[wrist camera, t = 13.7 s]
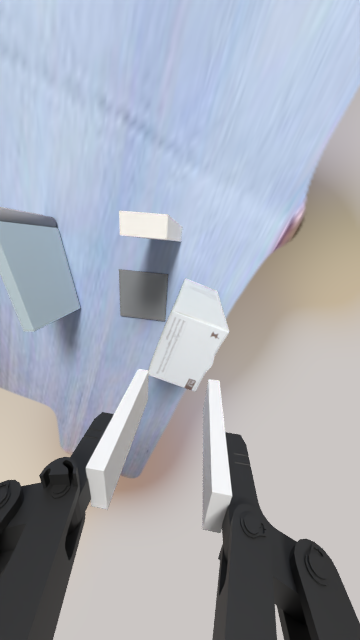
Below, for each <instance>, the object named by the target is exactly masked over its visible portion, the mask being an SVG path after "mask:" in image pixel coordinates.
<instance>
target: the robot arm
mask: <svg viewBox="0 0 360 640" xmlns="http://www.w3.org/2000/svg"><path fill="white" fill-rule="evenodd" d="M148 374H149V370H142V369H138V370H137V372H136V374H135V376H134V378H133V380H132V382H131V384H130V385H129V387H128V389H127V391H126V393H125V395H124V397H123V398H122V400H121V402H120V404H119V406H118V408H117V410H116V412H115V413H114V414H110V413H104V412H102V413H101V414H100V415H99V416H98V417H96V418H95V419H94V421H93V422H92V424H91V425H90V427H89V429H88V430H87V432H86V433H85V435H84V437H83V438H82V440H81V441H80V443H79V444H78V446H77V447H76V449H75V451H74V452H73V454H72V455H71V457H63V458H59V459H57V460H55V461H53V462H51V463H50V464H49V465H48V466H46V467H45V468H44V470H43V471H42V473H41V474H40V475H39V476H40V479H41V483H37V484H31V485H26V486H21V485H20V483H19V482H17V481H16V480H7V481H4V482H2V483H0V640H53V637H54V633H55V629H56V625H57V622H58V618H59V614H60V610H61V607H62V603H63V600H64V596H65V592H66V588H67V585H68V581H69V577H70V574H71V570H72V566H73V562H74V558H75V555H76V551H77V547H78V544H79V540H80V536H81V533H82V529H83V525H84V522H85V510H86V509H87V506H88V504H89V502H90V500H91V506H93V507H98V508H102V509H108V507H109V504H110V502H111V499H112V496H113V493H114V491H115V488H116V485H117V482H118V479H119V477H120V474H121V472H122V469H123V466H124V463H125V461H126V458H127V455H128V452H129V450H130V447H131V444H132V442H133V439H134V436H135V433H136V431H137V428H138V425H139V422H140V420H141V417H142V414H143V411H144V409H145V406H146V403H147V401H148ZM221 529H222V533H223V545H222V548H221V551H220V554H219V558H218V559H219V560H220V569H219V580H218V591H217V600H216V610H215V621H214V630H213V640H277V635H276V621H275V605H274V604H276V605H277V608H278V613H279V617H280V622H281V627H282V631H283V636H284V640H360V623H359V621H358V619H357V616H356V614H355V611H354V609H353V607H352V604H351V602H350V600H349V597H348V595H347V592H346V590H345V588H344V585H343V583H342V581H341V578H340V576H339V574H338V572H337V569H336V567H335V566H334V564H333V562H332V560H331V559H330V557H329V556H328V555H327V554H326V552H325V551H324V550H323V549H322V548H321V547H320V546H319V545H317V544H316V543H315V542H313V541H311V540H308V539H300V540H299V541H298V542H296V541H294V540H293V539H291V538H290V537H288V536H286V535H285V534H283V533H282V532H280V531H278V530H277V529H276V528H274V527H273V526H272V525H271V524H270V523H269V522H268V521H267V519H266V518H265V516H264V515H263V513H262V511H261V509H260V506H259V503H258V499H257V494H256V490H255V486H254V480H253V475H252V471H251V467H250V461H249V457H248V452H247V447H246V444H245V442H244V440H243V439H242V437H241V435H238V434H232V433H226V432H225V426H224V417H223V408H222V399H221V390H220V382H219V381H217V380H210V379H209V380H208V385H207V391H206V397H205V402H204V408H203V530H208V531H213V532H217V533H220V532H221Z"/></svg>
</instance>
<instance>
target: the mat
mask: <svg viewBox="0 0 360 640" xmlns="http://www.w3.org/2000/svg"><path fill="white" fill-rule="evenodd" d="M167 282H168V274H159V273H149V272H140V271H130V270H121V269H119V283H120V313H121V316H127V317H135V318H143V319H152V320H160V321H165V315H166V299H167Z"/></svg>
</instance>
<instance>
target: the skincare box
mask: <svg viewBox="0 0 360 640" xmlns="http://www.w3.org/2000/svg"><path fill="white" fill-rule="evenodd" d="M228 334H229V329H228V326H227V322H226V319H225V315H224V312H223V309H222V305H221V302H220V298H219V295H218V292H217V291H216V290H214V289H211V288H209V287H206V286H204V285H201V284H199V283H196V282H194V281H191V280H189V279H187V278H185V279H184V282H183V285H182V287H181V289H180V292H179V294H178V297H177V299H176V301H175V304H174V306H173V308H172V310H171V313H170V315H169V318H168V320H167V322H166V324H165V327H164V329H163V332H162V334H161V337H160V340H159V342H158V345H157V348H156V350H155V353H154V356H153V358H152V361H151V364H150V367H149V374H148V375H150V376H153V377H155V378H158V379H161V380H164V381H167V382H169V383H172V384H175V385H178V386H180V387H183V388H186V389H189V390H192V391H196V390H197V388H198V386H199V385H200V382H201V380H202V379H203V377H204V375H205V373H206V371H208V370H209V369H210V367H211V366H212V364H213V361H214V357H215V355H216V353H217V351H218V350H219V348H220V346H221V344H222V343H223V341H224V340H225V338H226V337H227V335H228Z"/></svg>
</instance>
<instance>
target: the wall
mask: <svg viewBox="0 0 360 640" xmlns="http://www.w3.org/2000/svg"><path fill="white" fill-rule="evenodd" d="M0 208H3V207H0ZM5 209H8V208H5ZM10 210H14V209H10ZM16 211H19V210H16ZM21 212H24V211H21ZM26 213H30V212H26ZM32 214H35V213H32ZM37 215H40V214H37ZM119 219H120V235H123V236H131V237H139V238H148V239H157V240H168V241H179V242H181V238H182V226H181V225H180V224H179V223H177V222H176V221H175V220H174V219H173V218H171V217H170V216H169V215H167V214H155V213H142V212H130V211H119Z"/></svg>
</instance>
